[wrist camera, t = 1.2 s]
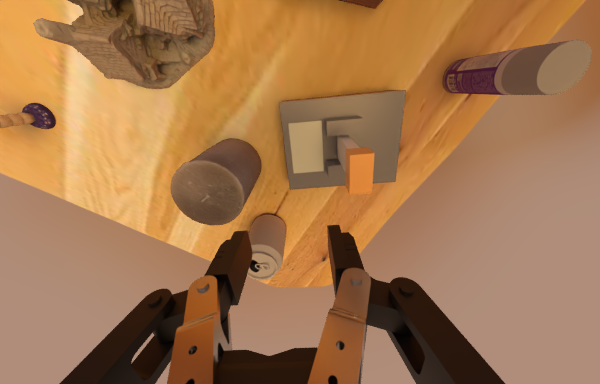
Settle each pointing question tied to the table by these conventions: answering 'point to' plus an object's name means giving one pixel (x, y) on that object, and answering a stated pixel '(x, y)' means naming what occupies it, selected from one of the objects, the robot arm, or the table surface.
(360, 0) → the tissue box cover
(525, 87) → the container
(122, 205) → the table surface
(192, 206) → the pillar candle
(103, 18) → the ceramic cottage
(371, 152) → the breaker lever
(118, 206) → the table surface
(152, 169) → the table surface
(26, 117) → the toy lamp
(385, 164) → the box
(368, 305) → the robot arm
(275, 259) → the can
